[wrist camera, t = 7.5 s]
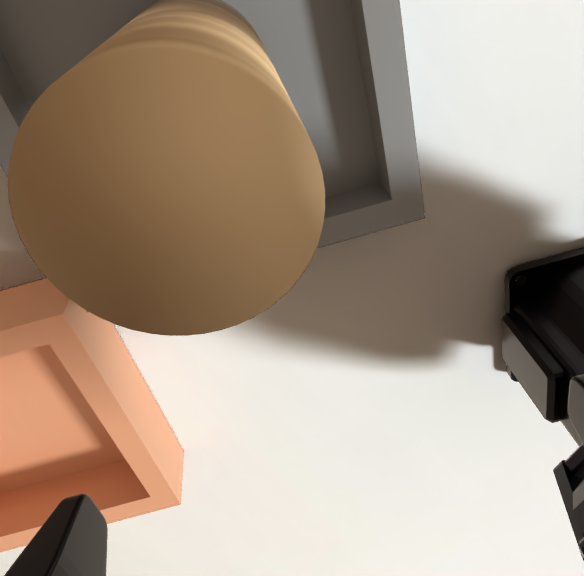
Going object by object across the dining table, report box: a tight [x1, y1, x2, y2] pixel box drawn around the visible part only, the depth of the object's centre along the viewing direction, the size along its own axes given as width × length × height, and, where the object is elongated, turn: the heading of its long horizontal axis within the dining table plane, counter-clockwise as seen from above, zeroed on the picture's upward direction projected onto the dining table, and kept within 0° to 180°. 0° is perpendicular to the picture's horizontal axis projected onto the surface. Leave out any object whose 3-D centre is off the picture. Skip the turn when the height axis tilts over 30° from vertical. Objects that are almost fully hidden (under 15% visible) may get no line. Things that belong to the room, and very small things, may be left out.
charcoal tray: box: [0, 0, 425, 312], centre depth 16 cm, size 12×12×2 cm
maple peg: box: [8, 0, 325, 335], centre depth 12 cm, size 4×4×10 cm
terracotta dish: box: [0, 278, 184, 552], centre depth 22 cm, size 11×11×3 cm
